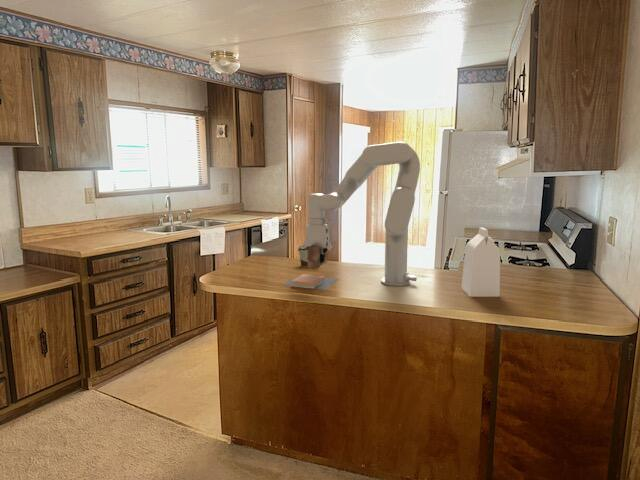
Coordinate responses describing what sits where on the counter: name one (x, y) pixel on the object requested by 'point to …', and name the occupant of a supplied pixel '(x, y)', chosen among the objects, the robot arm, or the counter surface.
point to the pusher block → (315, 257)
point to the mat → (322, 286)
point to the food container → (303, 256)
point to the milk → (481, 266)
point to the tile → (308, 281)
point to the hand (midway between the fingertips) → (317, 261)
